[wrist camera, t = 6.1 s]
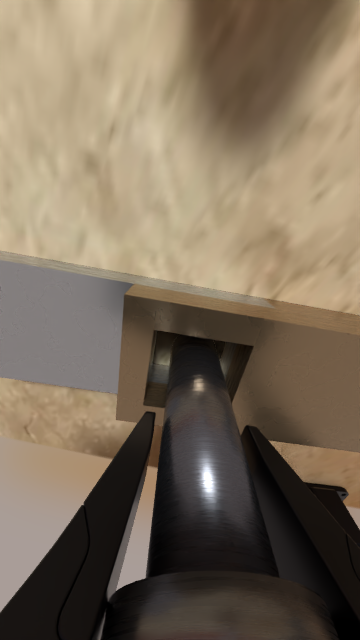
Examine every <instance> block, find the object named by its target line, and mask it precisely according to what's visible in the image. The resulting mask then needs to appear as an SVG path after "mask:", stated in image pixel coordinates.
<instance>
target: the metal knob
mask: <svg viewBox="0 0 360 640" xmlns="http://www.w3.org/2000/svg"><path fill="white" fill-rule="evenodd" d="M100 640H340V639H339V637H338V634H337V632H336V629H335V626H334V624H333V621H332V619H331V616H330V613H329V611H328V608H327V605H326V603H325V601H324V599H323V598H322V597H321V596H320V595H319V594H318V593H317V592H315V591H314V590H312V589H310V588H308V587H306V586H304V585H302V584H299V583H296V582H293V581H290V580H286V579H283V578H280V576H279V572H278V568H277V565H276V561H275V558H274V554H273V550H272V547H271V543H270V540H269V536H268V533H267V529H266V525H265V522H264V518H263V515H262V511H261V507H260V504H259V500H258V497H257V493H256V490H255V486H254V482H253V479H252V475H251V472H250V468H249V464H248V461H247V457H246V454H245V450H244V447H243V443H242V439H241V436H240V432H239V429H238V425H237V421H236V418H235V414H234V411H233V407H232V404H231V400H230V396H229V393H228V389H227V386H226V382H225V379H224V375H223V371H222V368H221V364H220V361H219V357H218V353H217V350H216V346H215V343H214V341H213V339H208V338H202V337H195V336H189V335H183V334H180V335H179V336H178V337H177V338H176V339H175V340H174V342H173V344H172V348H171V356H170V365H169V374H168V383H167V392H166V401H165V410H164V419H163V428H162V437H161V445H160V454H159V463H158V472H157V481H156V491H155V499H154V508H153V517H152V526H151V534H150V544H149V553H148V561H147V570H146V578H145V579H142V580H139V581H135V582H133V583H130V584H128V585H126V586H124V587H122V588H120V589H118V590H117V591H116V592H115V593H113V594H112V596H111V597H110V598H109V601H108V605H107V610H106V615H105V620H104V624H103V629H102V634H101V639H100Z"/></svg>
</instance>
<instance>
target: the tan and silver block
mask: <svg viewBox="0 0 360 640" xmlns="http://www.w3.org/2000/svg"><path fill="white" fill-rule="evenodd" d="M158 330H159V331H165V332H171V333H177V334H183V335H189V336H195V337H202V338H208V339H214V340H220V341H226V343H225V346H224V349H223V353H222V356H221V359H220V364H221V368H222V371H223V375H224V379H225V382H226V386H227V389H228V393H229V396H230V400H231V404H232V407H233V411H234V414H235V418H236V421H237V425H238V429H239V432H240V436H241V434H242V431H243V429H244V427H245V426H246V425H251V426H256V427H257V428H258V429H259V430H260V431H261V433H262V434H263V435H264V436H265V437H266V439H267V440H270V441H277V442H285V443H292V444H300V445H307V446H315V447H322V448H330V449H337V450H345V451H352V452H359V453H360V316H359V315H353V314H348V313H342V312H336V311H331V310H325V309H320V308H314V307H309V306H303V305H298V304H292V303H287V302H281V301H276V300H270V299H264V298H259V297H253V296H248V295H242V294H237V293H231V292H226V291H220V290H215V289H209V288H203V287H198V286H192V285H187V284H181V283H176V282H170V281H165V280H159V279H154V278H148V277H143V276H137V275H131V274H126V273H120V272H115V271H109V270H104V269H98V268H93V267H87V266H82V265H76V264H71V263H65V262H59V261H54V260H48V259H43V258H37V257H32V256H26V255H21V254H15V253H10V252H4V251H0V377H2V378H9V379H16V380H23V381H30V382H37V383H44V384H51V385H59V386H66V387H73V388H80V389H87V390H94V391H101V392H108V393H115V394H118V396H117V411H116V420H121V421H128V422H136V423H138V422H139V420H140V419H141V418H142V416H143V415H144V413H145V412H146V411H150V412H155V413H156V417H155V424H154V425H158V426H163V419H164V410H165V401H166V392H167V383H168V374H169V366H166V365H159V364H153V358H154V351H155V344H156V338H157V331H158Z"/></svg>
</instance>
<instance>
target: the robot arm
mask: <svg viewBox="0 0 360 640" xmlns="http://www.w3.org/2000/svg"><path fill="white" fill-rule="evenodd" d="M155 417H156V413H155V412H150V411H146V412H145V413H144V415H143V416H142V418H141V419H140V420H139V422H138V423H137V425H136V426H135V428H134V429H133V431H132V432H131V434H130V435H129V437H128V438H127V440H126V441H125V443H124V444H123V445H122V447H121V448H120V450H119V451H118V453H117V454H116V456H115V457H114V459H113V460H112V462H111V463H110V465H109V466H108V468H107V469H106V470H105V472H104V473H103V475H102V476H101V478H100V479H99V481H98V482H97V484H96V485H95V487H94V488H93V489H92V491H91V492H90V494H89V495H88V497H87V498H86V500H85V501H84V505H82V506H81V507H80V508H79V510H78V511H77V513H76V514H75V516H74V517H73V519H72V520H71V521H70V523H69V524H68V526H67V527H66V529H65V530H64V531H63V533H62V534H61V535H60V537H59V538H58V540H57V541H56V542H55V544H54V545H53V547H52V548H51V549H50V550H49V552H48V553H47V554H46V556H45V557H44V558H43V559H42V561H41V562H40V564H39V565H38V566H37V567H36V569H35V570H34V571H33V573H32V574H31V575H30V576H29V577H28V579H27V580H26V581H25V583H24V584H23V585H22V586H21V587H20V589H19V590H18V591H17V592H16V594H15V595H14V596H13V597H12V599H11V600H10V601H9V602H8V604H7V605H6V606H5V607H4V608H3V610H2V611H1V612H0V640H100V639H101V634H102V629H103V624H104V620H105V615H106V610H107V605H108V601H109V598H110V597H111V596H112V594H113V593H115V592H116V588H117V584H118V580H119V577H120V573H121V569H122V565H123V561H124V557H125V553H126V550H127V546H128V542H129V538H130V534H131V531H132V527H133V523H134V519H135V515H136V512H137V508H138V503H139V500H140V496H141V492H142V489H143V485H144V481H145V476H146V471H147V466H148V460H149V455H150V449H151V444H152V438H153V431H154V424H155ZM241 439H242V443H243V447H244V450H245V454H246V457H247V461H248V464H249V468H250V472H251V475H252V479H253V482H254V486H255V490H256V493H257V497H258V500H259V504H260V507H261V511H262V515H263V518H264V522H265V525H266V529H267V533H268V536H269V540H270V543H271V547H272V550H273V554H274V558H275V561H276V565H277V568H278V572H279V576H280V578H283V579H286V580H290V581H293V582H296V583H299V584H302V585H304V586H306V587H308V588H310V589H312V590H314V591H315V592H317V593H318V594H319V595H320V596H321V597H322V598H323V599H324V601H325V603H326V605H327V608H328V611H329V613H330V616H331V619H332V621H333V624H334V626H335V629H336V632H337V634H338V637H339V639H340V640H360V530H359V528H358V526H357V525H356V523H355V522H354V520H353V518H352V517H351V515H350V513H349V511H348V510H347V508H346V506H345V505H344V503H343V500H344V499H345V498H346V497H347V496H348V495H349V494H348V492H347V490H346V489H345V488H340V487H332V486H324V485H315V484H307V483H304V482H303V481H302V480H301V479H300V477H299V476H298V475H297V474H296V473H295V471H294V470H293V469H292V468H291V467H290V466H289V464H288V463H287V462H286V461H285V460H284V459H283V457H282V456H281V455H280V454H279V453H278V451H277V450H276V449H275V448H274V447H273V446H272V444H271V443H270V442H269V441H268V440H267V439H266V437H265V436H264V435H263V434H262V433H261V431H260V430H259V429H258V428H257V427H256V426H251V425H246V426H245V427H244V429H243V431H242V434H241Z"/></svg>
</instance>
